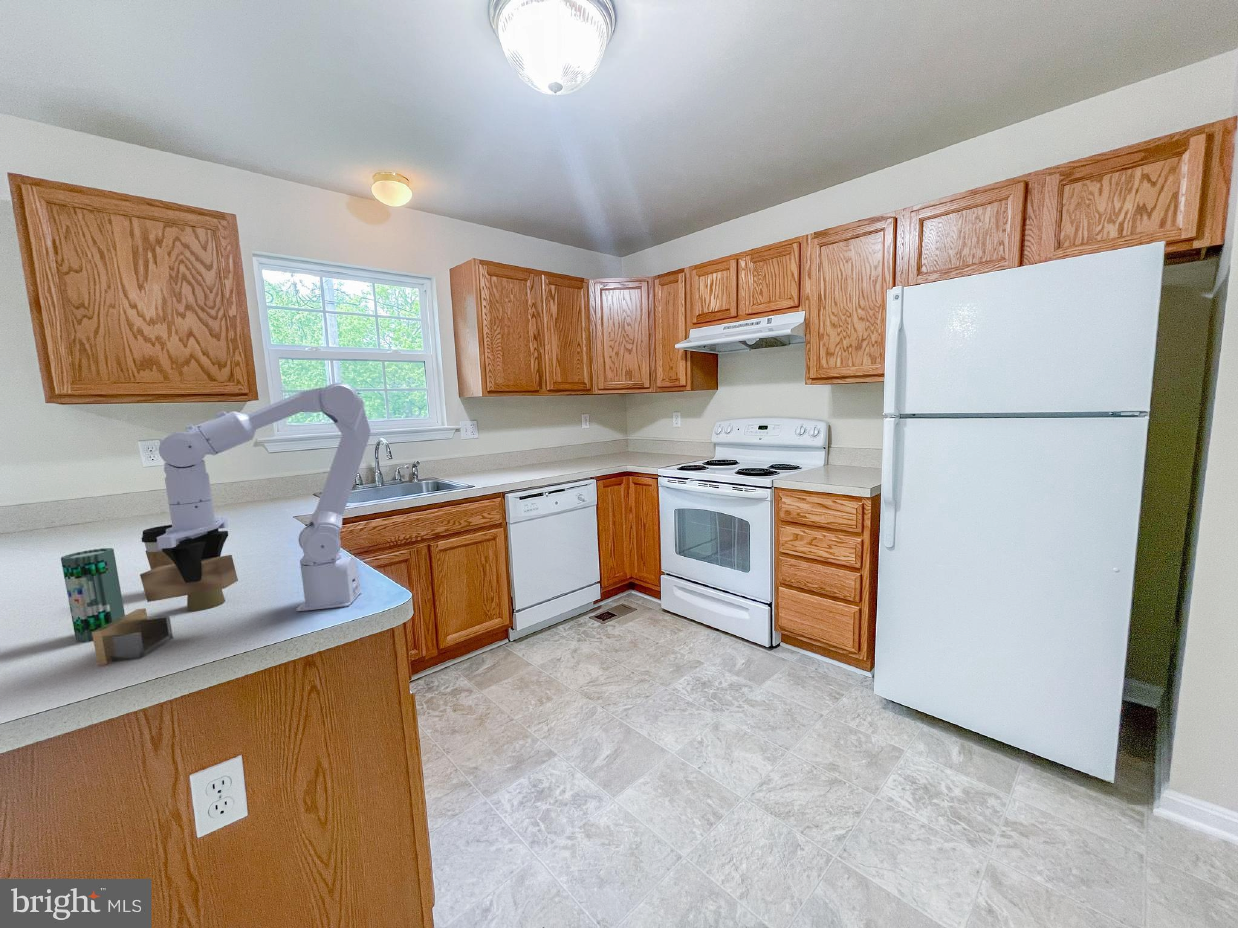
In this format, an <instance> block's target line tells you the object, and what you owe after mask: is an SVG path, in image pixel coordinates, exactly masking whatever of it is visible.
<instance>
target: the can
mask: <svg viewBox="0 0 1238 928" xmlns="http://www.w3.org/2000/svg"><path fill="white" fill-rule="evenodd" d="M116 560H117V559H116V555H115V550H114V548H112V547H106V548H105V547H103V548H97V549H96V548H94V549H89V550H83V551H77V552H72V553H69V554H66V555H64V556H61V558H60V562H61V566H62V574H63V578H64V583H65V589H66V595H67V599H68V605H69V610H70V615H71V620H72V628H73V631H74V636H75V641H77V642H83V643H84V642H90V641H93V635H92V632H93V631H95V630H97V629H99V628H101V627H103V626H105V625H107V624H109V623H111V622H113V621H115V620H117V619H119V618H121V617H123V616H125V615H126V612H125V607H124V602H123V601H124V600H123V596H122V591H121V584H120V579H119V572H118V567H117V561H116Z"/></svg>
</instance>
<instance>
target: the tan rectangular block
mask: <svg viewBox="0 0 1238 928" xmlns="http://www.w3.org/2000/svg"><path fill="white" fill-rule="evenodd" d="M201 566H202V577H201V580H200V581H199V582H190V583H185V581H184V579H183V578H182V576H181V574H180V572H179V570H178V568H177V567H176V565H175V564H173V565H167V566H161V567H157V568H154V569H152V570H151V569H150V570H148V571H145V572H142V573H140V574H139V576H140V580H141V584H142V587H143V591H144V595H145V597H146V598H145V599H146V601H147V603H151V602H156V601H163V600H167V599H168V600H169V599H173V598H178V597H180V598H181V597H185V596H186V597H187V595H191V594H197V593H203V592H208V591H214V590H220V589H222V590H224V589H226V588H229V586H232V585H233V584H235V583H237V582H238V581H239V578H238V574H237V571H236V567H235V562H234V560H233V554H228V555H222V556H220V557H215V558H209V559H203V560H201Z"/></svg>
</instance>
